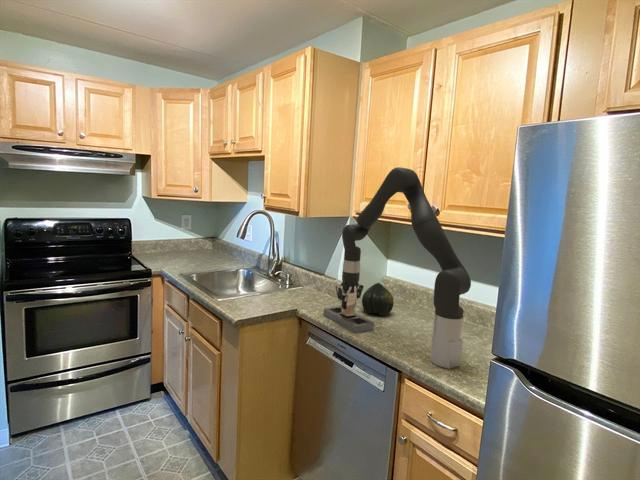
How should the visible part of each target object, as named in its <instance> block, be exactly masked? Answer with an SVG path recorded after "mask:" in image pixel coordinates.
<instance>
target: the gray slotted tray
mask: <svg viewBox="0 0 640 480" xmlns="http://www.w3.org/2000/svg"><path fill="white" fill-rule="evenodd" d="M341 306H342V305H341ZM341 306H334V307H326V308H323V314H322V315H323V316H324V317H326V318H328V319H330V320H331V321H333V322H335V323H336V324H338V325H340V326H341V327H343V328H344V329H346V330H348V331H350V332H351V333H354V334H359V333H363V332H369V331H374V329H375V322H373V321H372V320H369V319H368V318H365V317H363V316H362V315H360V314H357V313H356V312H354V315H352V316H345V315H343V314H342V307H341Z"/></svg>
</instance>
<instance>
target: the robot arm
mask: <svg viewBox="0 0 640 480" xmlns="http://www.w3.org/2000/svg"><path fill="white" fill-rule="evenodd" d="M397 193H402V194H403V195H404V197H405V198H406V200H407V202H408V205H409V207H410V214H411V215H410V222H411V226H412V229H413V231H414V233H415V235H416V238H417V239H418V241H419V243H420V245H422V247H424V249H425V250H426V251H427V252H428V253H429V254H431V256H432V257H434V259H435V260H436V261H437V263H438V265H439V267H440V268H441V271H440V272H439V273H437V275H436V276H435V277H436V278H435V281H434V289H433V290H434V291H433V305H434V319H433V327H432V336H431V347H430V355H429V360H430V362H431V363H432V364H434V366H435V365H436V366H438V367H441V368H444V369H447V370H450V369H454V368H457V367H460V366H461V359H462V352H463V343H464V339H463V338H461V336H462V327H463V321H464V312H465V311H464V309H463V307H461V306H460V296H461V295H465V294H466V293H468V292H469V291H470V289H471V286H472V280H471V276H470V275H469V273H468V271H467V270H466V268H465V266H464V265H463V264H462V262H461V260H460V259H459V257H458V255H457V254H456V252H455V251H454V249H453V246H452V245H451V242H450V241H449V239H448V237H447V234H446V233H445V231H444V229H443V227H442V225H441V223H440V221H439V219H438V217H437V215H436V213H435V211H434V210H433V208H432V206H431V204H430V202H429V200H428V198H427V196H426V194H425V191H424V188H423V185H422V183H421V181H420V178H419V176H418V174H417V173H416V171H414V170H413V169H411V168H407V167H406V168H405V167H402V166H400V167H399V166H398V167H394V168H393V169H391V170H390V171H389V172H388V174H387V175H386V177H385V178H384V180H383V181H382V183H381V185H380V186H379V188H378V190H377V191H376V193H375V194H374V196H373V197H372V198H371V200H370V201H369V203H368V204H367V205H366V206H365V207H364V208H363V209H362V211H361V212H360V213H359V214H358V216H357V218H356V221H357V222H356V224H354V223H353V224H347V225H345V226H344V227H343V228H342V232H341V237H342V239H341V240H342V242H343V243H342V245H343V248H344V253H343V254H344V255H343V263H342V276H341V281H342V283H341V285H340V286H336V287H335V290H336V295H337V298H338V300H340V301H341V307H342V309H344V310H346V305H347V296H348V294H350V293H356V298H355V307H356V305H357V303H356V302H357V299H360V298H361V297H362V296H361V295H362V292H363V290H364V287H365V286H364V285H363V284H361V283H359V282H360V274H361V255H362V252H361V251H362V250H361V249H362V248H360V247H359V246H357V245H356V242H358V241H362V240H364V239H365V238H366V237H367V235H368V233H369V231H370V230H371V227H372V226H373V225H374V224H375V223H376V222H377V221H378V220H379V219H380V217H382V216H383V213H384V211H385V208H386V204H387V202H388V201H390V199H391V198H392V197H393V196H394V195H396V194H397ZM344 292H345V293H346V294H345V293H344ZM344 297H345V298H344Z"/></svg>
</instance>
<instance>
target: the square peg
mask: <svg viewBox="0 0 640 480" xmlns="http://www.w3.org/2000/svg"><path fill="white" fill-rule="evenodd" d="M344 293H345V292H344ZM345 294H346V293H345ZM344 298H345V297H344ZM355 298H356V293H350V294H348V296H347V305H346V310H344V309H342V314H343V315H345V316H352V315H354V313H355V311H356V306H355Z"/></svg>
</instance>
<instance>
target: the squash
mask: <svg viewBox="0 0 640 480" xmlns="http://www.w3.org/2000/svg"><path fill="white" fill-rule="evenodd" d="M361 297H362V299H361V305H362V309H363V310H364V311H365V312H366V313H368V314H374V313H375V314H378V315H379V316H380V317H381V316H385V315H388V314H390V313H391V311H392V309H393V307H394V304H395V301H394V296H393V294H392V293H391V292H390V291H389V290H388V288H387V287H385V286H384V285H382V283H380V282H376V283H374V284H373V285H371V286H370V287H368V288H367V289H366V290H365V291H364V293H363V295H362V296H361Z"/></svg>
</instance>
